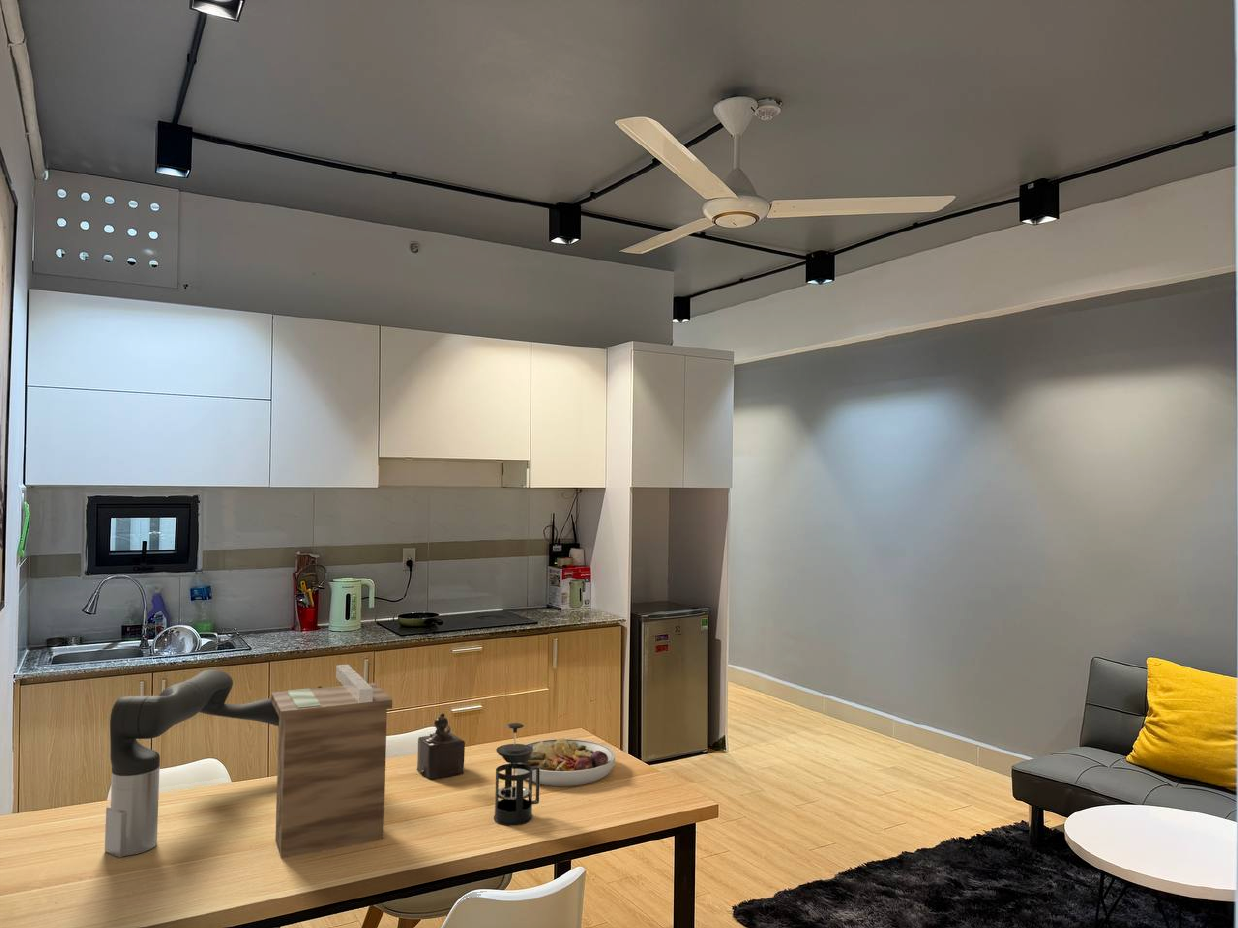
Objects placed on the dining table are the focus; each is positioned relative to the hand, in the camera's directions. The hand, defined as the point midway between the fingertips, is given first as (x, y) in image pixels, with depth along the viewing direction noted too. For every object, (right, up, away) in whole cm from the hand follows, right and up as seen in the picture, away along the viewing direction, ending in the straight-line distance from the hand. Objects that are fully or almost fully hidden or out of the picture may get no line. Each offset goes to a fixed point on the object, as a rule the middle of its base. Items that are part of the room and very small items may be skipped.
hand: (337, 688), depth 218 cm
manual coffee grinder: (+24, -29, +16) cm, 41 cm away
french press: (+48, -29, -13) cm, 58 cm away
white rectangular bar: (+10, +5, -17) cm, 20 cm away
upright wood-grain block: (+6, -27, -25) cm, 38 cm away
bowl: (+58, -30, +22) cm, 69 cm away
